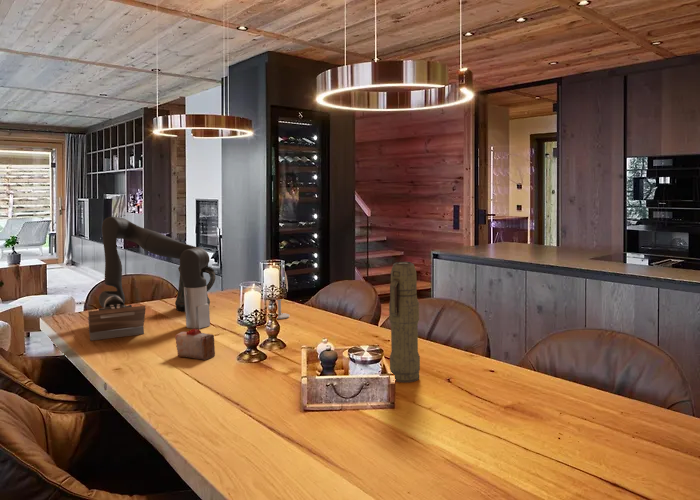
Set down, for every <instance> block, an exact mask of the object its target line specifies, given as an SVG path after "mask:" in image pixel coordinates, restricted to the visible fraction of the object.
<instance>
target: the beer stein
mask: <svg viewBox="0 0 700 500" xmlns="http://www.w3.org/2000/svg"><path fill="white" fill-rule="evenodd" d="M178 272H179V279H178V280H179V282H178V289H177V297H176V299H175V302H174V304H175V310H176V311H178V312H183V313H185V296H184V283H183V281H182V278H181V269H180V265H179V266H178ZM204 273H207V274H208V275H209V277H210V278H209V280H208V283H206V286H207V293H208V292H209V291H210V290H211V289H212V287H213V286H214V285H215V283H216V282H215V281H216V272H215V269H213V267H211V266H209V264H208V265H207V266H206V267H204V268H202V269H200V276H201V277H202V278H205V277H204V276H205V275H204ZM207 304H209V306H210V304H211V301H210V298H209V296H208V294H207Z"/></svg>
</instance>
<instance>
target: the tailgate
mask: <svg viewBox="0 0 700 500" xmlns="http://www.w3.org/2000/svg"><path fill="white" fill-rule="evenodd" d="M88 317H89V322H88V331H89V330H90V333H91V332H99V331H108V330H116V329H125V328H133V327H141V326H143V327H144V326H145V325H144V324H145V317H146V305H137V306H132V307H127V308H117V309H107V310H99V309H98V310H91V311H88Z"/></svg>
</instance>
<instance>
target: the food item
mask: <svg viewBox="0 0 700 500" xmlns="http://www.w3.org/2000/svg"><path fill="white" fill-rule="evenodd" d="M174 337H175V346H176V350H177V358H188V359H196V360H200V361H201V360H203V361H207V360H209V359H211V358H215V356H216V349H215V348H216V347H215V335H214V334H211V333H205V332H202V331H201V330H200V329H199V328H191V329H189V330H188V331H180V332H179V333H177V334H175V336H174Z"/></svg>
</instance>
